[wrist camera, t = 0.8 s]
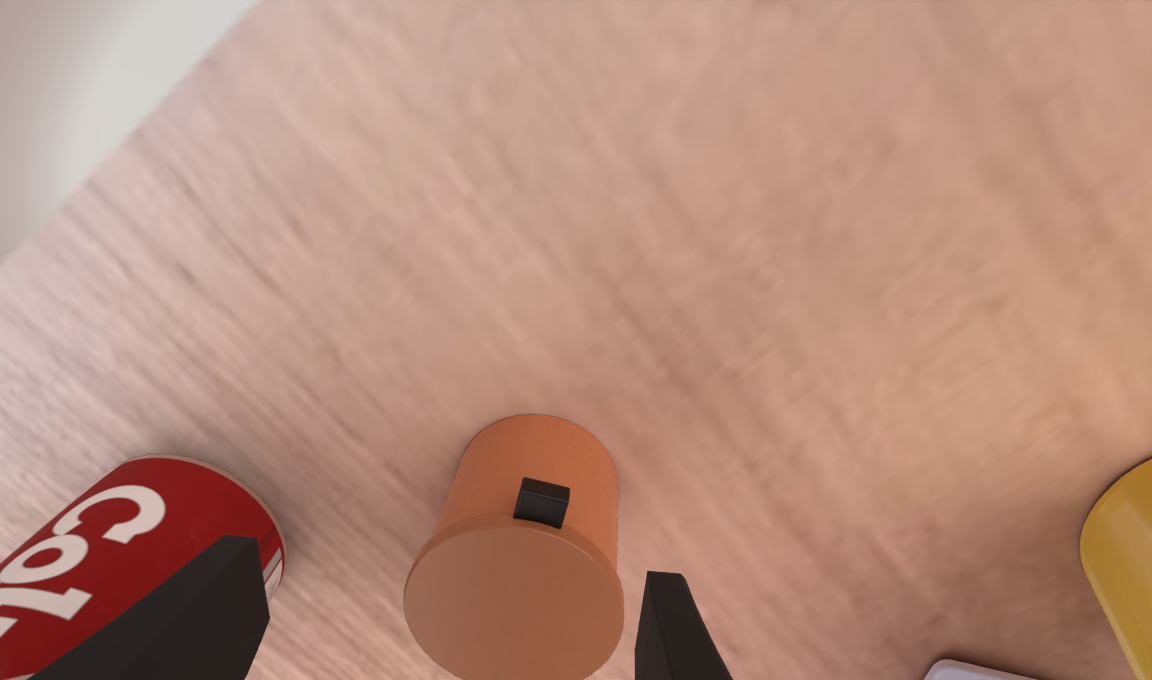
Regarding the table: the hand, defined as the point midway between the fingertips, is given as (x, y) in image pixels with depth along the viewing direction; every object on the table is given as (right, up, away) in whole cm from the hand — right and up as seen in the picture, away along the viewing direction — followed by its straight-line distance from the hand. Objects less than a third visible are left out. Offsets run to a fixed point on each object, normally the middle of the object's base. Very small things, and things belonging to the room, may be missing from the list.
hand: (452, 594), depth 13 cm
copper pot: (+1, 0, +10) cm, 10 cm away
